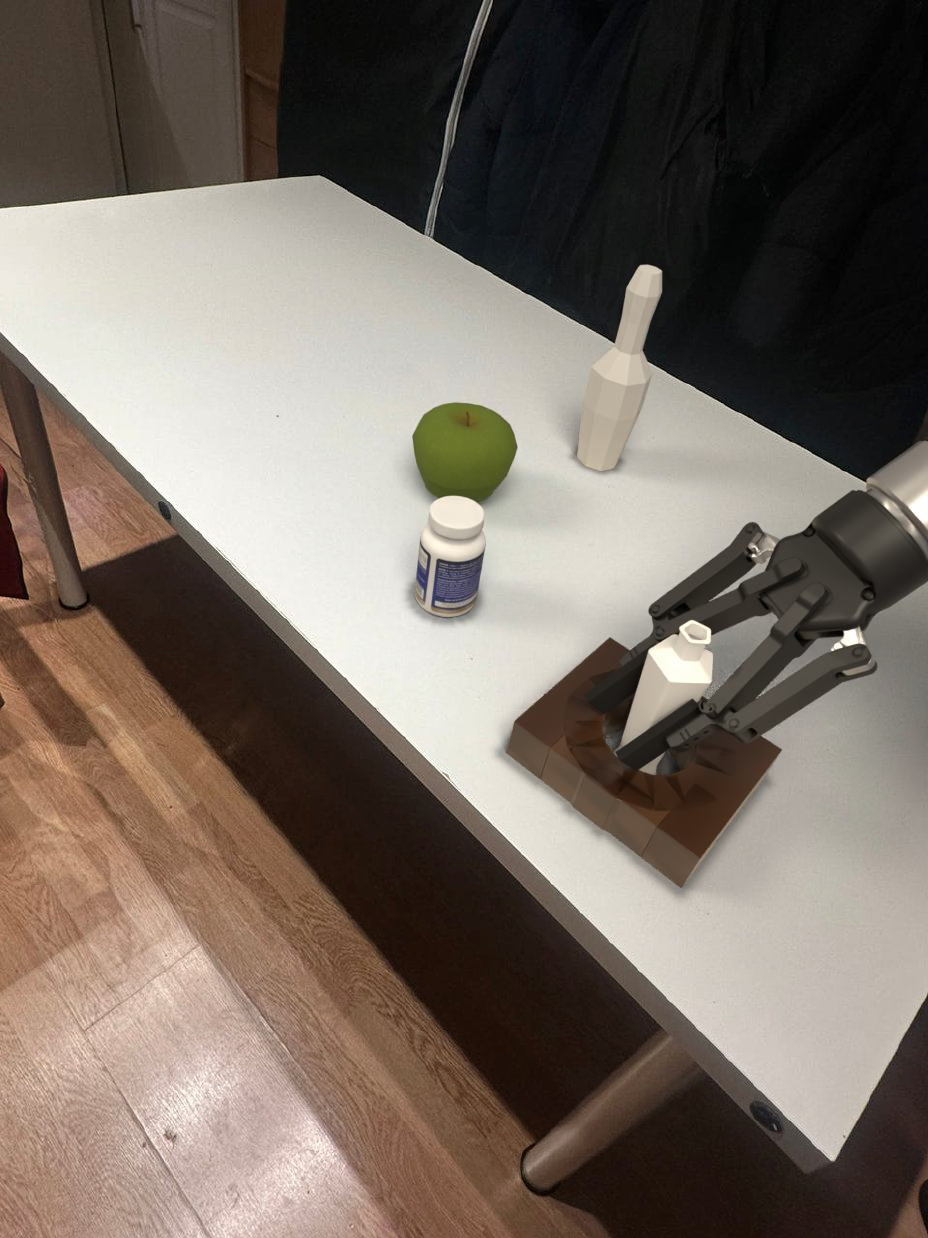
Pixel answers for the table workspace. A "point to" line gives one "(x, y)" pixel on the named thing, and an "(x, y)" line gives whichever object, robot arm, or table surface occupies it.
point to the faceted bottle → (620, 377)
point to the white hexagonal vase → (670, 681)
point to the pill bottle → (450, 556)
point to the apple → (463, 450)
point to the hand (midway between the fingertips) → (610, 732)
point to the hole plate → (637, 772)
